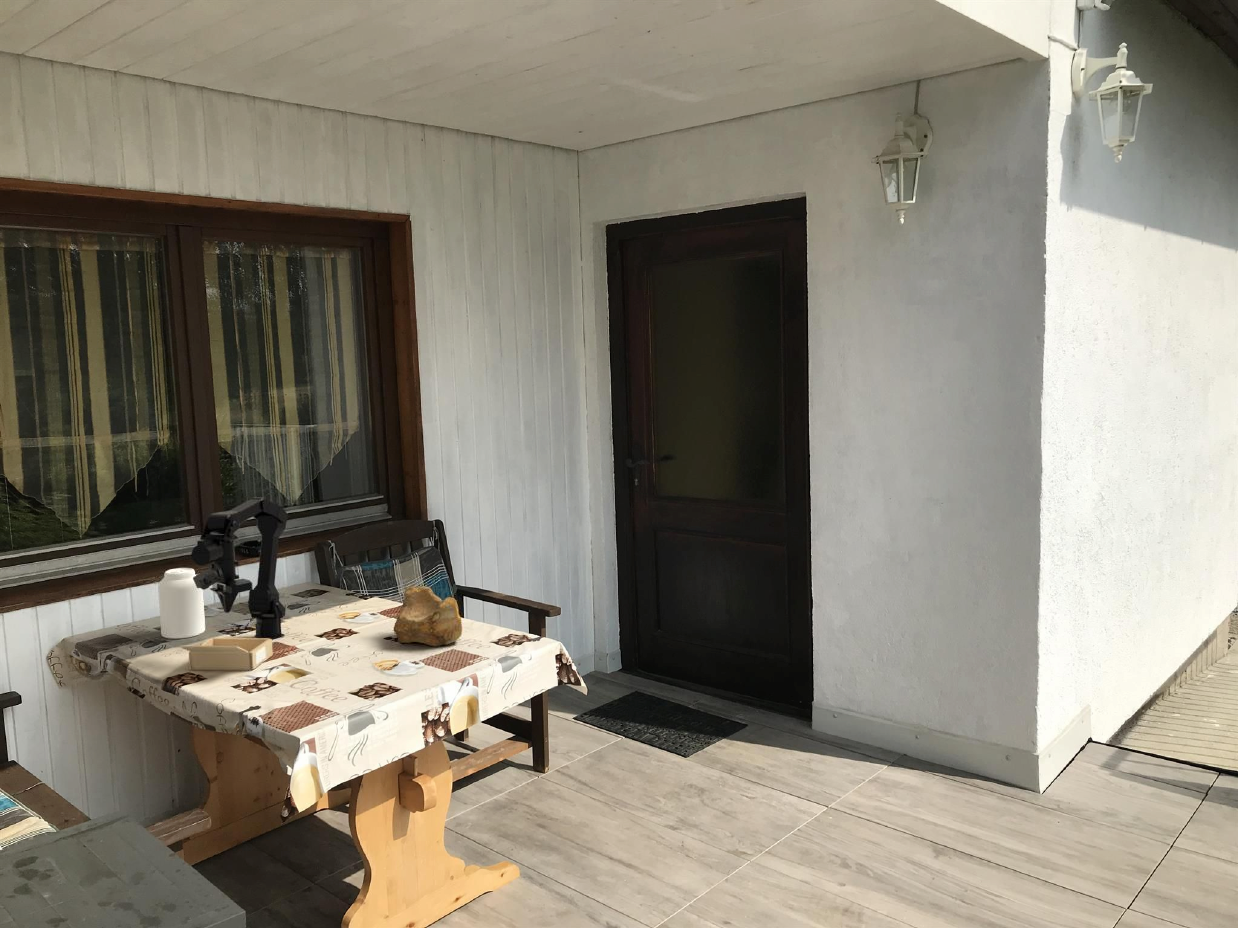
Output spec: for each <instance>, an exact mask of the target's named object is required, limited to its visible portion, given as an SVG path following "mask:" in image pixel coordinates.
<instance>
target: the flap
mask: <svg viewBox="0 0 1238 928" xmlns="http://www.w3.org/2000/svg"><path fill="white" fill-rule="evenodd" d="M178 647H179V648H181V649H184V650H186V651H188V652H246V653H248V651H246V650H244V649H242V648H240V647H238V646H200V645H178Z"/></svg>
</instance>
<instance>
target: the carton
mask: <svg viewBox="0 0 1238 928" xmlns="http://www.w3.org/2000/svg"><path fill="white" fill-rule="evenodd" d="M199 646H238V647H240V648H242V649H244V650H246V651H248V653H246V652H190V651H188V665H189V666H188V667H189V670H190V671H253V670H254V669H256V668H257V667H258V666H260V665H261V664H263V663H264V662H265V661H266V660H268V659H270V658H271V657H272V656H273V654H274V653H273V639H267V638H256V637H254V638H253V637H252V638H250V637H247V638H245V637H239V638H235V637H233V638H231V637H229V638H228V637H211V638H210V639H208V640H206V641H205V642H203V643H202V644H200V645H199Z"/></svg>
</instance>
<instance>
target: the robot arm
mask: <svg viewBox="0 0 1238 928" xmlns="http://www.w3.org/2000/svg"><path fill="white" fill-rule="evenodd" d="M251 518H254V519H255V520H256V522H257V523H256V528H257V529H258V531H259V533H260V535H261V543H260V554H259V562H258V563H259V564H258V573H257V580H256V585H254V588H253V582H252V581H251V580H249V579H246V578H240V575H239V574H237V571H236V566H238V565H239V560H236V555H235V540H238V539H239V537H238V536H237V535H236V534H235V533H236V532H237V531H238V530H239V529H240V527H241V524H242V523H244V522H246V521H247V520H249V519H251ZM288 519H289V515H288V513H287V511H286V510H285V508H283V507H282V506H280V505H278V504H276V503H275V502H272V501H271V500H269V499H268V498H266V497H258V496H256V497H250V498H249V499H248V500H247V501H245V502H242V503H241V504H239V505H237V506H235V507H234V508H232V509H230V510H227V511H218V512H214V513H210V514H209V515H208V516H207V519H206V521H205V524H204V527H203V529H202V533H201V535H200V539H199V540H197V541H196V542H197V545H196V546H194V547H193V548H192V551H191V559H192V561H193V562H194V564H195V565H197V566H201V567H202V566H206V565H209V566H208V569H205V570H203V571H201V572H200V573H198V574H195V575H196V576H194V577H193V580H194V582H195V585H196V587H197V588H201V589H203V591H204V590H207V589H209V590H211V591H212V592H214V593H215V594H216V595H217V597H218V599H219V602H220V604H221V607H222V609H223V611H224V613H225V614H229V613H231V611H232V607H233V605H234V602H235V601H236V598H237V597H238V595H239V594H240V593H244V592H248V591H249V592H248V600H247V604H248V605H247V606H248V607H247V608H248V610H249V613H250V616H251V619H256V622H255V625H254V626H255V635H254V638H267V639H272V640H274V639H278V638H281V637H285V634H284V633H283V632H282V622H281V621H282V619H284V616H286V610H287V609H286V607H285V606H284V605H283V603H281V601H280V593H279V592H278V589H277V587H276V583H275V582H276V574H277V561H278V551H279V541H280V537H281V535H282V534H283V533H284V532H285V530H286V527H287V522H288ZM210 587H211V588H210Z"/></svg>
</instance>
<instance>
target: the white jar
mask: <svg viewBox="0 0 1238 928" xmlns="http://www.w3.org/2000/svg"><path fill="white" fill-rule="evenodd" d="M196 575H197V574H196V571H195V569H194V568H190V567H178V568H172V569H171V568H170V569H168V570H166V571H165V572H164V574H163V576H164V577H163V578H162V579H161V580H160V581H159V582H158V588H157V589H158V604H159V619H160V634H161V636H162V637H163V638H166V639H170V640H171V639H178V640H179V639H187V638H192V637H197V636H199V635H201V634H203V633H204V632H205V631H206V620H205V617H206V616H205V605H204V590H203V589H201V588H197V587H196V585H195V582H194V580H193V577H194V576H196Z"/></svg>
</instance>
